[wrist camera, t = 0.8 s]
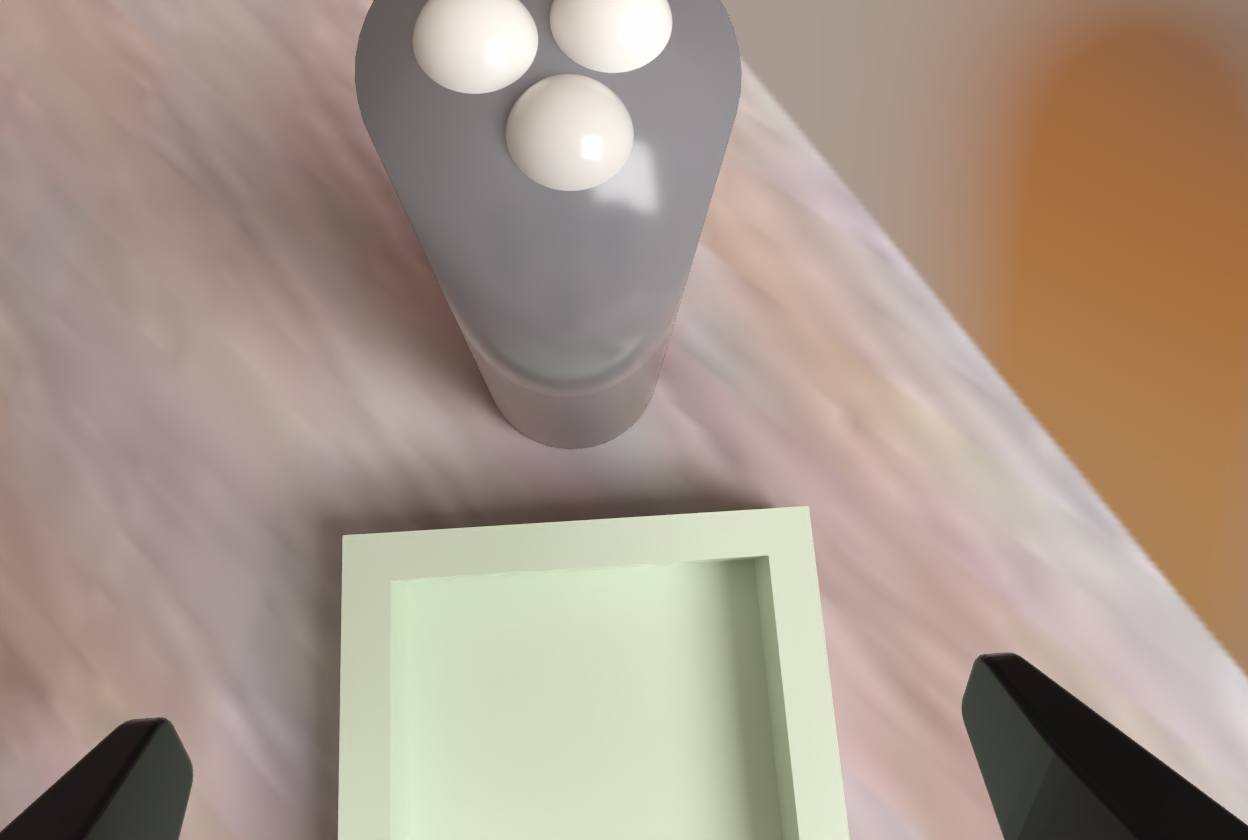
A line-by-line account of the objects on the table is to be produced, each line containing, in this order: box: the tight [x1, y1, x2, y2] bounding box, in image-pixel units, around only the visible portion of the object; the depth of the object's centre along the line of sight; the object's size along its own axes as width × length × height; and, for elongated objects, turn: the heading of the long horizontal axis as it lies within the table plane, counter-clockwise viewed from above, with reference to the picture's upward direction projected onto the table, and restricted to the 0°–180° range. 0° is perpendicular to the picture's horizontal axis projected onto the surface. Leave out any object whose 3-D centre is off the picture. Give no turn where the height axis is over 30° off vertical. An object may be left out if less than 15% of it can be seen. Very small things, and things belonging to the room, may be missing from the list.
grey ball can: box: [355, 0, 741, 449], centre depth 17 cm, size 5×5×14 cm
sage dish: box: [338, 506, 849, 840], centre depth 20 cm, size 12×12×2 cm
